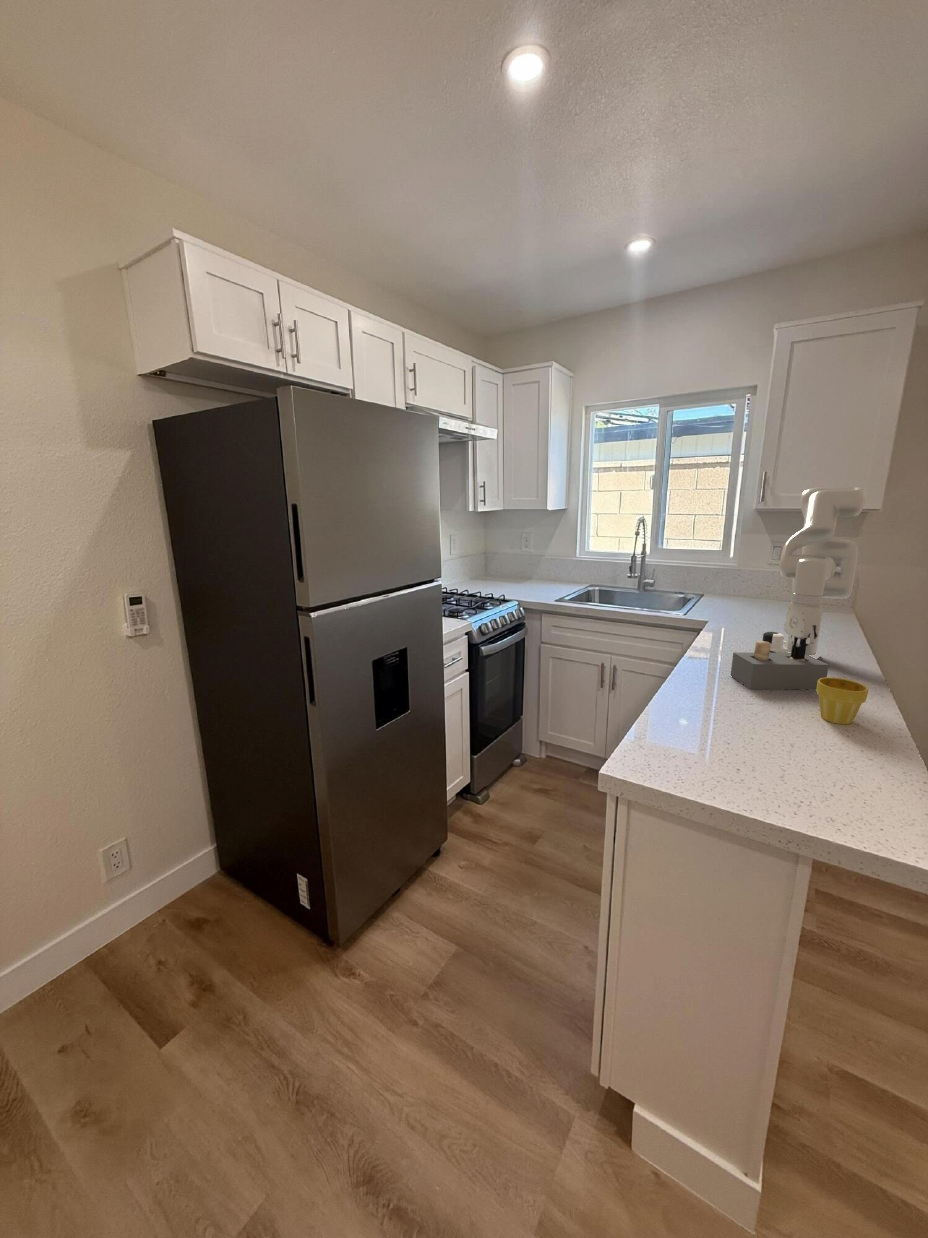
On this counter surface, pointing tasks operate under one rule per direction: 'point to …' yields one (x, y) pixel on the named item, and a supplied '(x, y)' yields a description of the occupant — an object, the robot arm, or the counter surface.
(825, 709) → the plant pot
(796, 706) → the counter surface
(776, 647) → the medicine bottle
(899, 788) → the counter surface
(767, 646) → the peg
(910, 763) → the counter surface
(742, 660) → the collar block
